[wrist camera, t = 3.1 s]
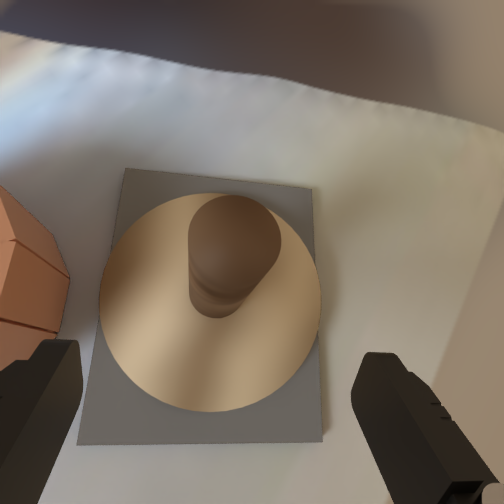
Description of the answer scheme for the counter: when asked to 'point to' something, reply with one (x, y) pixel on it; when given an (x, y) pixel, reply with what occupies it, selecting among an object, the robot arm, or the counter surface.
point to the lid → (210, 302)
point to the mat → (182, 420)
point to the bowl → (27, 282)
